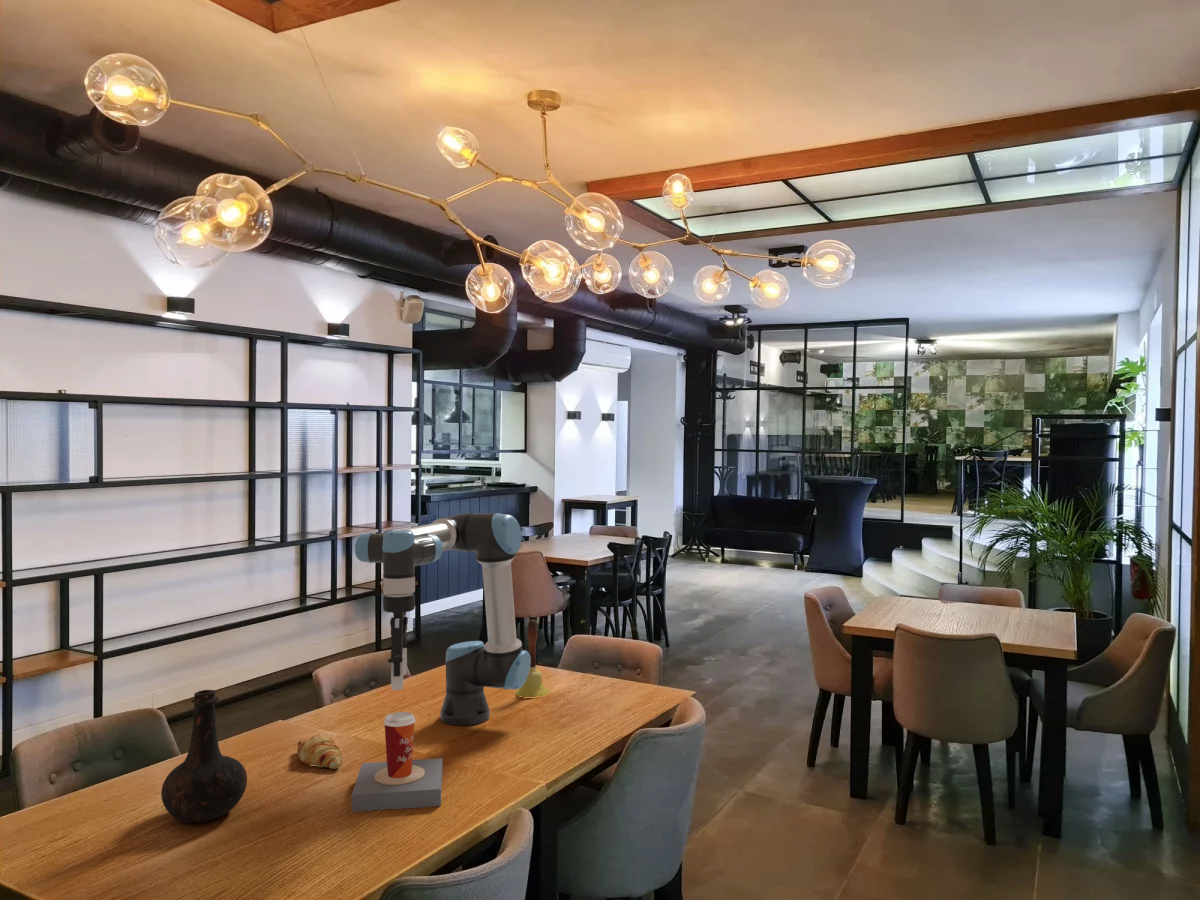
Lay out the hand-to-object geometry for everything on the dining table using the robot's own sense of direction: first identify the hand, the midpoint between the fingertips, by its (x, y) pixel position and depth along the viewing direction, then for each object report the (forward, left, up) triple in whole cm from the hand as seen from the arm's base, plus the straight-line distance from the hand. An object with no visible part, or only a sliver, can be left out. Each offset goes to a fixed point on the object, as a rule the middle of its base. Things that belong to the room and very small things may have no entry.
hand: (399, 681), depth 203 cm
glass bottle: (+5, -43, -27) cm, 51 cm away
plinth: (0, 0, -27) cm, 27 cm away
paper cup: (0, 0, -22) cm, 23 cm away
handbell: (-78, +39, -27) cm, 91 cm away
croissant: (-25, -23, -27) cm, 44 cm away
